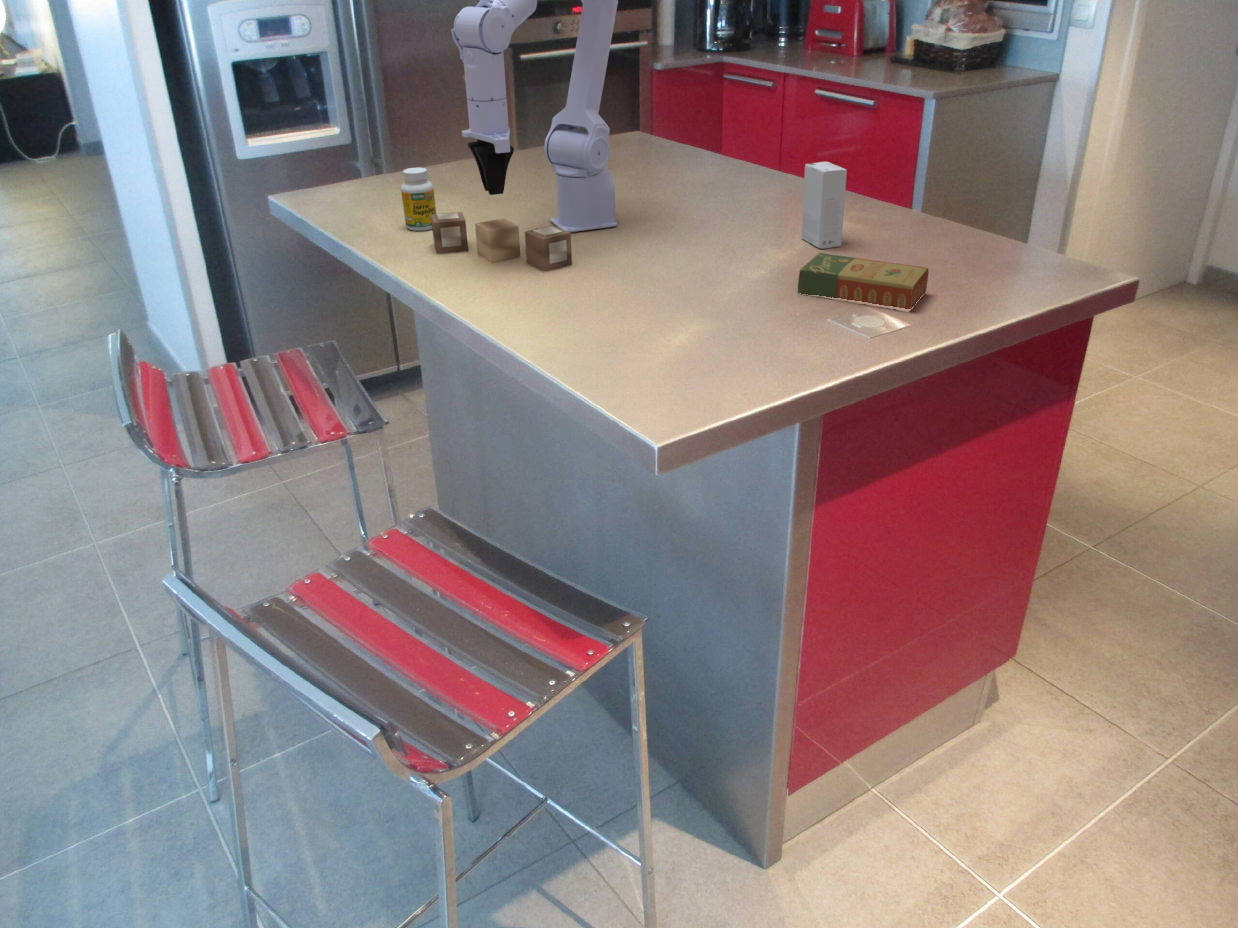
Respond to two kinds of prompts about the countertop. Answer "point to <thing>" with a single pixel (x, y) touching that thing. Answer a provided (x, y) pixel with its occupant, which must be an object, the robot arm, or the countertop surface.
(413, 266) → the countertop surface
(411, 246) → the countertop surface
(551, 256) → the walnut block
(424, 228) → the supplement bottle
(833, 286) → the carton
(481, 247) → the oak block
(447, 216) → the walnut block
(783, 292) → the countertop surface
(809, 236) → the skincare box
